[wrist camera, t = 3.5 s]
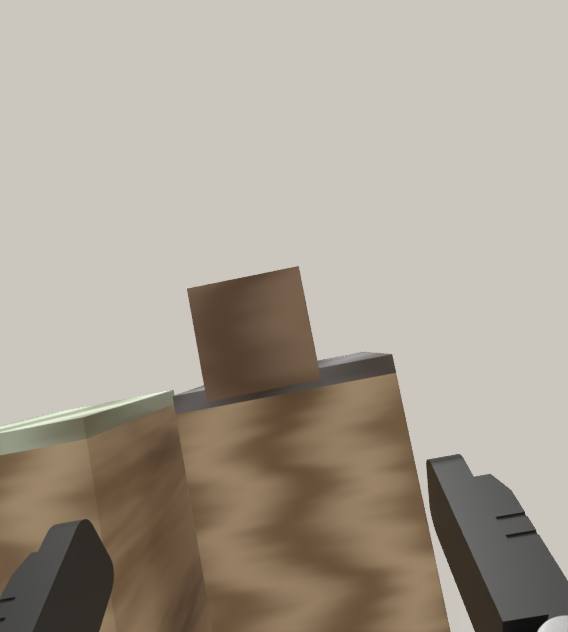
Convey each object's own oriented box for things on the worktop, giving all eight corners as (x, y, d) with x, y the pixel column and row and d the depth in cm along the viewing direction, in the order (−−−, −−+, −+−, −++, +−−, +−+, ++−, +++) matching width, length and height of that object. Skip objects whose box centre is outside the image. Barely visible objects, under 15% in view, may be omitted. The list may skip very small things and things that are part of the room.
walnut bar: (207, 401, 16) (187, 288, 16) (269, 369, 40) (261, 323, 40) (321, 380, 16) (298, 266, 16) (315, 360, 40) (306, 314, 40)
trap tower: (284, 1047, 23) (172, 396, 25) (294, 781, 37) (222, 379, 39) (531, 1016, 22) (391, 354, 25) (446, 758, 36) (363, 351, 39)
